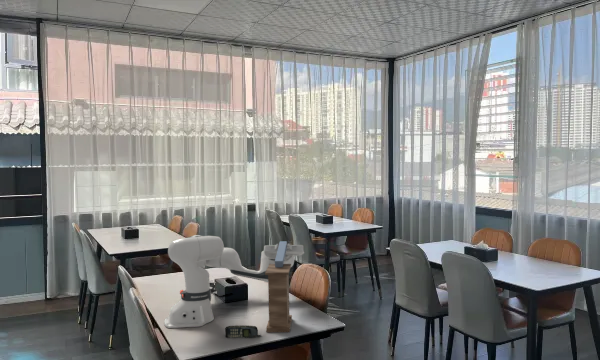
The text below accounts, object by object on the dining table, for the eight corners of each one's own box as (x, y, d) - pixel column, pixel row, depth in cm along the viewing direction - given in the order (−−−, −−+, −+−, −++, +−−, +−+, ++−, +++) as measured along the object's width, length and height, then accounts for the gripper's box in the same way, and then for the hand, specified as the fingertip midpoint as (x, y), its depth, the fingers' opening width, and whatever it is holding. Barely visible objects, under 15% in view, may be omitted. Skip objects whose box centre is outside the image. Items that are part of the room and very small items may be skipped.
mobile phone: (224, 327, 190) (260, 326, 189) (226, 324, 193) (261, 324, 192) (225, 339, 190) (260, 338, 189) (226, 336, 193) (261, 335, 192)
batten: (280, 247, 229) (279, 241, 228) (286, 246, 229) (286, 241, 228) (275, 267, 204) (274, 261, 203) (282, 267, 204) (282, 261, 203)
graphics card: (212, 280, 272) (233, 288, 253) (212, 285, 272) (233, 294, 253) (196, 283, 266) (217, 292, 246) (196, 288, 266) (217, 298, 247)
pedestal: (270, 319, 212) (269, 264, 210) (291, 319, 211) (290, 263, 210) (266, 332, 196) (265, 272, 194) (289, 332, 195) (288, 272, 194)
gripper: (304, 259, 235) (303, 251, 223) (265, 259, 236) (262, 251, 224) (304, 248, 238) (303, 239, 226) (266, 248, 239) (262, 239, 227)
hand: (282, 245), depth 225 cm, fingers closed on batten, 3 cm apart
